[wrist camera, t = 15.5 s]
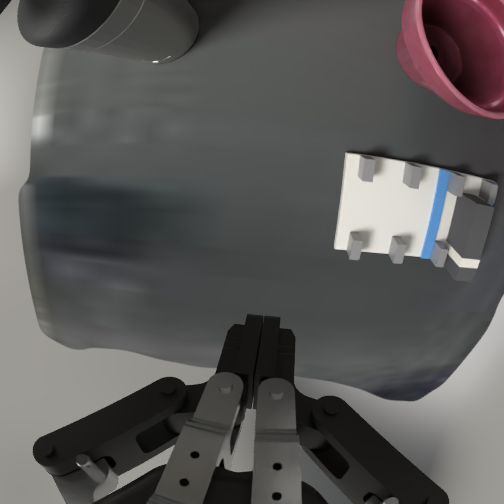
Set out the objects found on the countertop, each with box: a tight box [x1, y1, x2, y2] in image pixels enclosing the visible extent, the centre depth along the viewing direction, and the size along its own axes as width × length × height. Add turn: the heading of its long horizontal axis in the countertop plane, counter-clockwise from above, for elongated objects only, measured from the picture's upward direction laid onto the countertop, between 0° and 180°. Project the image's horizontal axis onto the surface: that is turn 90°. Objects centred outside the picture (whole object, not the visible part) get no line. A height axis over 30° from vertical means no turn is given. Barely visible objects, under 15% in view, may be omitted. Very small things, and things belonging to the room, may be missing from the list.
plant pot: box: [396, 0, 504, 119], centre depth 20 cm, size 14×14×13 cm
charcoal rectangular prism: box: [444, 193, 494, 281], centre depth 31 cm, size 10×3×5 cm, turn 178°
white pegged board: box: [334, 152, 498, 267], centre depth 33 cm, size 12×22×4 cm, turn 88°
